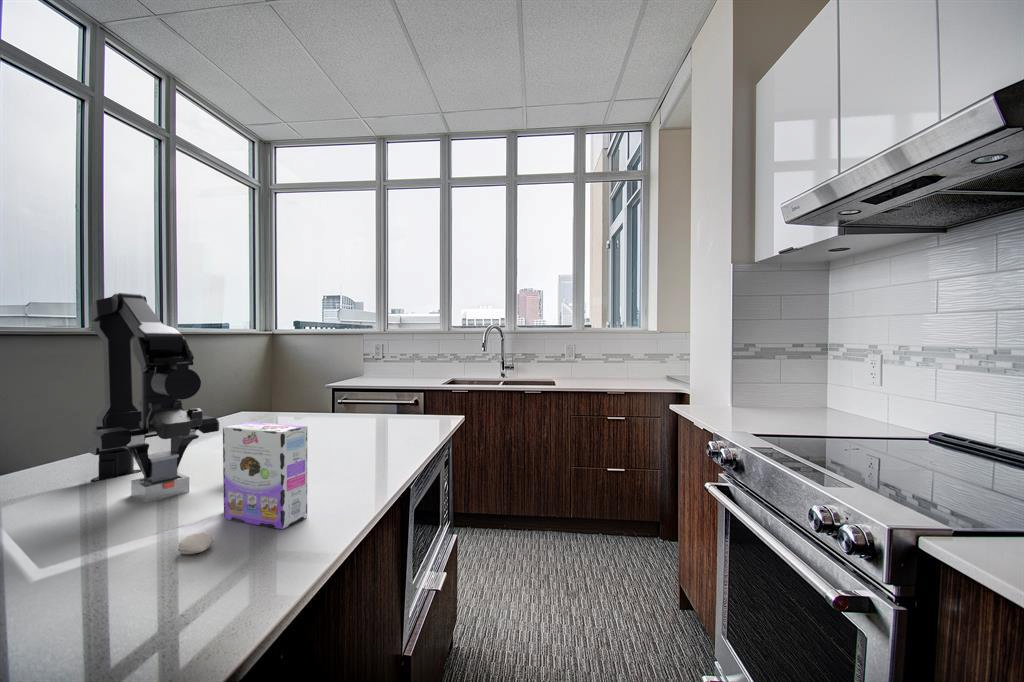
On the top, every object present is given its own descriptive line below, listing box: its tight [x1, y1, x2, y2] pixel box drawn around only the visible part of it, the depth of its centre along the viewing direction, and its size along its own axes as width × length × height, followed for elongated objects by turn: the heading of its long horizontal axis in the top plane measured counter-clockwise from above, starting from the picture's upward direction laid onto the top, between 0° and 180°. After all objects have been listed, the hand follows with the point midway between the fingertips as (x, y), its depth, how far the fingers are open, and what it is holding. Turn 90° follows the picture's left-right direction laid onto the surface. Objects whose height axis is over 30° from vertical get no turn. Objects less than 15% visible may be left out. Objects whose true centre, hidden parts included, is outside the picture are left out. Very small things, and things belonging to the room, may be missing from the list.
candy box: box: [222, 421, 308, 530], centre depth 77 cm, size 14×6×16 cm, turn 71°
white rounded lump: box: [177, 532, 214, 555], centre depth 65 cm, size 4×5×2 cm
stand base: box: [130, 471, 190, 504], centre depth 85 cm, size 12×12×4 cm
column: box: [141, 450, 179, 485], centre depth 85 cm, size 5×5×8 cm
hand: (160, 474), depth 85 cm, fingers closed on column, 4 cm apart
